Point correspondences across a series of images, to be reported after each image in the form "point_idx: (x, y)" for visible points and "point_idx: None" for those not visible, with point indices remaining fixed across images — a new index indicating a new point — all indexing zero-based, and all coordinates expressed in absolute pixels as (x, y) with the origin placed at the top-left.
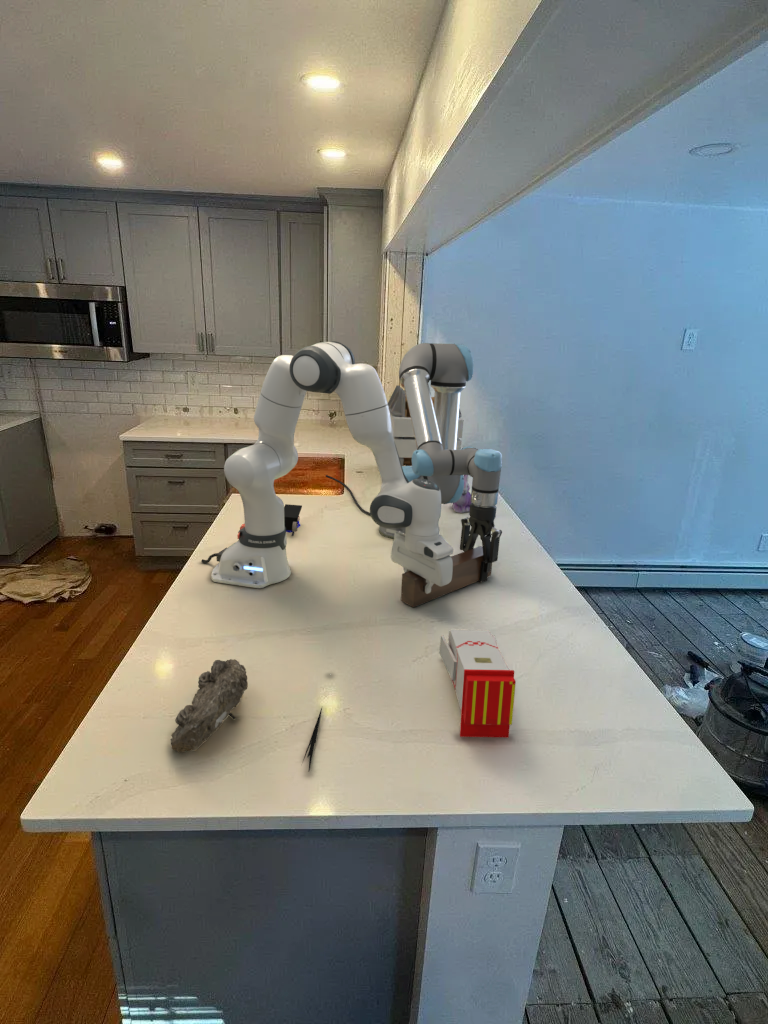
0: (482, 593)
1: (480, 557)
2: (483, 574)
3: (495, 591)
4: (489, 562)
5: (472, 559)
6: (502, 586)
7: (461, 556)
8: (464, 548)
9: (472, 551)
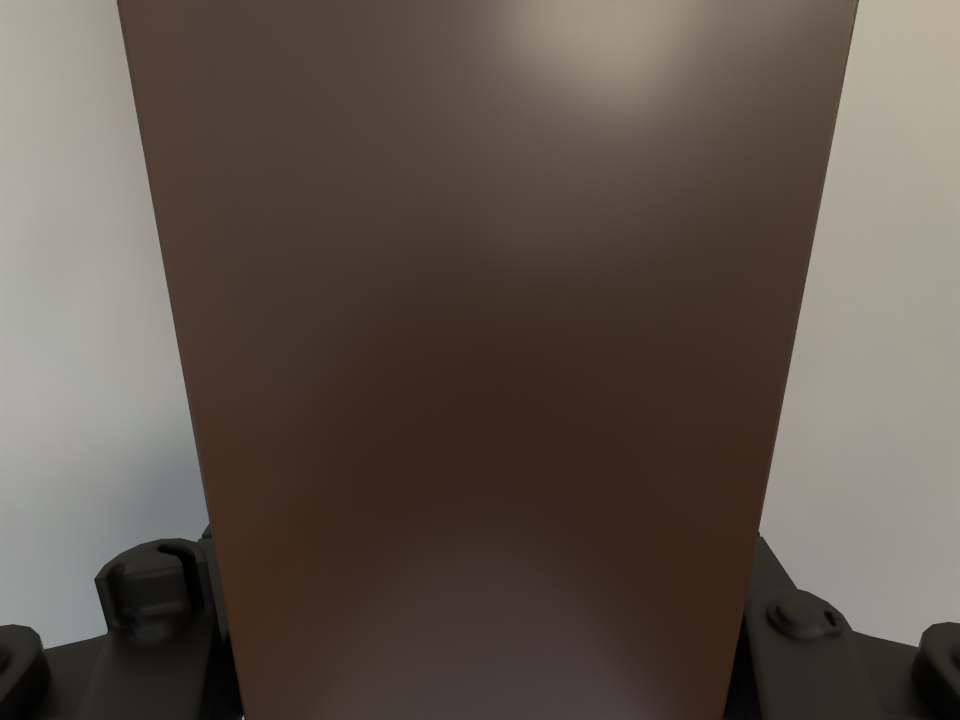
0: (107, 169)
1: (250, 626)
2: None
3: (81, 354)
4: (91, 641)
5: (181, 313)
6: (150, 510)
7: (575, 157)
8: (904, 706)
9: (596, 705)
